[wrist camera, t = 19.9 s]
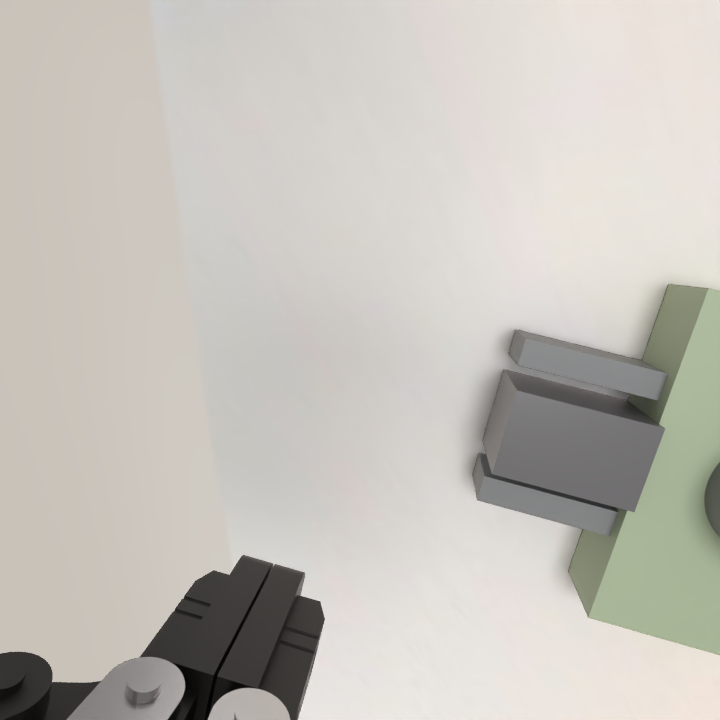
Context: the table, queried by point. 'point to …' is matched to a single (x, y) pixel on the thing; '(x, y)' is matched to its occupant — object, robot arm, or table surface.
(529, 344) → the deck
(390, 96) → the table surface
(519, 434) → the grey rectangular box
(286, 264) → the table surface
